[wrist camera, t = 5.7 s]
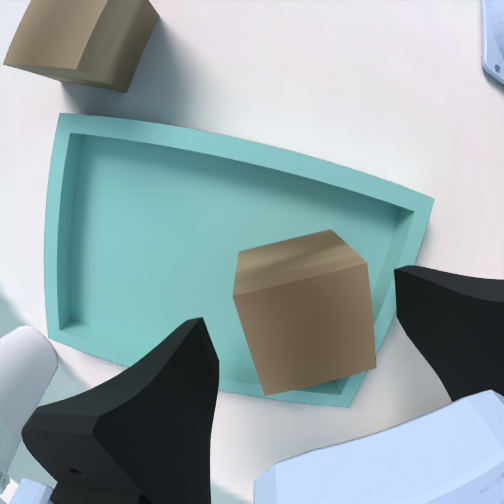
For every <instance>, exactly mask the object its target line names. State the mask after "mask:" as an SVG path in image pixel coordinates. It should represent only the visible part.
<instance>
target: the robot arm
mask: <svg viewBox="0 0 504 504" xmlns="http://www.w3.org/2000/svg"><path fill="white" fill-rule="evenodd" d="M481 11H482V65H483V68H484V69H485V71H486V72H487V73H489V74H490V75H491V76H493V77H494V78H495V79H497V80H498V81H499V82H501V83H502V84H503V85H504V0H481ZM495 68H496V70H497V71H496V70H495ZM394 280H395V294H396V312H397V318H398V320H399V322H400V324H401V325H402V327H403V329H404V331H405V332H406V334H407V336H408V337H409V338H410V340H411V341H412V342H413V344H414V345H415V346H416V348H417V349H418V350H419V351H420V353H421V354H422V355H423V356H424V358H425V359H426V360H427V362H428V363H429V364H430V366H431V367H432V368H433V370H434V371H435V372H436V374H437V375H438V377H439V378H440V380H441V381H442V383H443V385H444V387H445V389H446V390H447V392H448V394H449V396H450V398H451V400H452V403H450V404H448V405H446V406H444V407H441V408H439V409H437V410H435V411H432V412H430V413H428V414H425V415H423V416H420V417H418V418H415V419H413V420H410V421H407V422H405V423H402V424H399V425H397V426H394V427H391V428H388V429H385V430H382V431H379V432H376V433H373V434H370V435H367V436H364V437H360V438H357V439H353V440H350V441H346V442H343V443H339V444H335V445H331V446H327V447H323V448H319V449H314V450H311V451H308V452H305V453H303V454H300V455H297V456H294V457H291V458H288V459H285V460H282V461H279V462H278V463H276V464H275V465H273V466H272V467H271V468H270V469H269V470H267V471H266V472H265V473H263V474H262V475H261V476H260V477H258V478H257V479H256V480H254V504H504V280H498V279H484V278H475V277H469V276H463V275H458V274H453V273H448V272H443V271H439V270H434V269H430V268H425V267H420V266H413V265H407V266H403V267H400V268H396V269H394ZM218 387H219V359H218V356H217V354H216V351H215V348H214V346H213V343H212V340H211V338H210V335H209V332H208V330H207V327H206V324H205V321H204V319H203V317H199V318H194V319H189V320H186V321H185V322H183V323H182V324H181V325H180V326H178V327H177V328H176V329H175V330H174V331H173V332H172V333H171V334H169V335H168V336H167V337H166V338H165V339H164V340H163V341H162V342H161V343H159V344H158V345H157V346H156V347H155V348H154V349H152V350H151V351H150V352H149V353H148V354H146V355H145V356H144V357H143V358H141V359H140V360H139V361H138V362H136V363H135V364H133V365H132V366H131V367H129V368H128V369H126V370H125V371H123V372H122V373H120V374H118V375H117V376H115V377H113V378H111V379H110V380H108V381H106V382H104V383H102V384H100V385H98V386H97V387H94V388H92V389H90V390H88V391H86V392H83V393H81V394H78V395H76V396H73V397H70V398H67V399H65V400H61V401H58V402H54V403H51V404H47V405H43V406H40V407H38V408H36V409H35V411H34V412H33V413H32V415H31V416H30V418H29V419H28V421H27V422H26V423H25V425H24V426H23V428H22V431H21V435H22V439H23V442H24V444H25V446H26V447H27V449H28V450H29V452H30V453H31V454H32V456H33V457H34V458H35V459H36V460H37V461H38V462H39V463H40V464H41V466H42V467H43V468H44V469H45V470H46V471H47V472H48V473H49V474H50V475H51V476H52V477H53V478H54V479H55V480H56V481H57V482H58V483H57V485H56V487H55V489H53V488H52V487H50V486H48V485H46V484H44V483H41V482H37V481H34V480H31V479H27V478H23V479H22V481H21V483H20V484H19V486H18V488H17V490H16V492H15V494H14V496H13V497H12V499H11V501H10V503H9V504H211V490H210V440H211V430H212V424H213V418H214V412H215V406H216V400H217V394H218Z"/></svg>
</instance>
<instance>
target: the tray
mask: <svg viewBox="0 0 504 504" xmlns="http://www.w3.org/2000/svg"><path fill="white" fill-rule="evenodd" d="M433 203H434V198H432V197H429V196H427V195H424V194H422V193H419V192H416V191H414V190H411V189H409V188H406V187H403V186H401V185H398V184H395V183H392V182H390V181H387V180H384V179H381V178H378V177H375V176H372V175H369V174H366V173H363V172H360V171H357V170H354V169H351V168H348V167H345V166H342V165H338V164H335V163H332V162H329V161H325V160H322V159H318V158H315V157H311V156H308V155H304V154H301V153H297V152H293V151H289V150H286V149H282V148H278V147H274V146H270V145H266V144H262V143H258V142H253V141H249V140H245V139H240V138H236V137H231V136H226V135H221V134H216V133H211V132H206V131H201V130H196V129H190V128H184V127H179V126H173V125H166V124H160V123H153V122H146V121H139V120H131V119H123V118H114V117H105V116H94V115H82V114H69V113H60V114H59V118H58V123H57V128H56V133H55V139H54V145H53V151H52V157H51V164H50V171H49V179H48V189H47V199H46V212H45V230H44V288H45V306H46V319H47V330H48V338H49V339H52V340H54V341H57V342H59V343H62V344H64V345H67V346H69V347H72V348H74V349H77V350H80V351H82V352H85V353H88V354H91V355H94V356H96V357H99V358H102V359H105V360H108V361H111V362H114V363H117V364H121V365H124V366H127V367H131V366H132V365H133V364H135V363H136V362H138V361H139V360H140V359H141V358H143V357H144V356H145V355H146V354H148V353H149V352H150V351H151V350H152V349H154V348H155V347H156V346H157V345H158V344H159V343H161V342H162V341H163V340H164V339H165V338H166V337H167V336H168V335H169V334H171V333H172V332H173V331H174V330H175V329H176V328H177V327H178V326H180V325H181V324H182V323H183V322H185V321H186V320H189V319H194V318H199V317H203V319H204V321H205V324H206V327H207V330H208V332H209V335H210V338H211V340H212V343H213V346H214V348H215V351H216V354H217V356H218V359H219V387H218V390H222V391H227V392H232V393H238V394H243V395H249V396H255V397H261V398H268V399H274V400H282V401H289V402H297V403H306V404H316V405H327V406H339V407H349V405H350V403H351V401H352V400H353V398H354V396H355V394H356V392H357V391H358V389H359V387H360V385H361V383H362V381H363V379H364V378H365V376H366V374H367V372H368V370H367V371H364V372H361V373H358V374H354V375H351V376H347V377H344V378H340V379H336V380H333V381H329V382H325V383H321V384H317V385H313V386H309V387H305V388H301V389H296V390H292V391H287V392H282V393H278V394H273V395H267V396H264V393H263V390H262V387H261V384H260V381H259V378H258V375H257V372H256V369H255V366H254V363H253V360H252V356H251V353H250V350H249V347H248V344H247V341H246V338H245V335H244V332H243V328H242V325H241V322H240V319H239V316H238V313H237V309H236V306H235V303H234V300H233V296H232V295H233V288H234V281H235V274H236V267H237V260H238V253H239V251H243V250H247V249H251V248H255V247H259V246H263V245H267V244H271V243H275V242H279V241H283V240H287V239H291V238H295V237H299V236H304V235H308V234H312V233H316V232H320V231H324V230H328V229H332V230H333V231H334V232H335V233H336V234H337V235H338V236H339V237H340V238H341V239H343V240H344V241H345V242H346V243H347V244H348V245H349V246H350V247H351V248H352V249H353V250H354V251H355V252H357V253H358V254H359V255H360V256H361V257H362V258H363V259H364V260H365V261H366V262H367V266H368V274H369V282H370V291H371V301H372V312H373V323H374V337H375V354H377V352H378V350H379V348H380V345H381V343H382V341H383V339H384V337H385V335H386V332H387V330H388V328H389V326H390V324H391V321H392V319H393V317H394V314H395V312H396V294H395V280H394V269H396V268H400V267H403V266H407V265H413V266H414V263H415V260H416V257H417V255H418V252H419V249H420V246H421V243H422V240H423V237H424V233H425V230H426V227H427V224H428V220H429V217H430V214H431V210H432V206H433Z"/></svg>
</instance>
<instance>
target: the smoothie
mask: <svg viewBox="0 0 504 504" xmlns="http://www.w3.org/2000/svg"><path fill="white" fill-rule="evenodd" d="M57 368H58V359H57V355H56V353H55V350H54V349H53V347H52V345H51V344H50V342H49V341H48V340H47V339H46V338H45V336H44V335H42V334H41V333H40V332H39V331H37V330H36V329H34V328H32V327H30V326H20V327H18V328H17V329H15V330H13V331H12V332H10V333H9V334H7V335H5V336H4V337H2V338H0V494H2V493H3V491H4V490H5V488H6V486H7V484H9V483H10V479H9V476H8V474H7V472H8V469H9V467H10V465H11V462H12V460H13V458H14V456H15V453H16V451H17V448H18V446H19V444H20V442H21V439H22V435H21V431H22V428H23V426H24V425H25V423H26V422H27V421H28V419H29V418H30V416H31V415H32V413H33V412H34V411H35V409H36V408H37V406H38V404H39V402H40V400H41V398H42V396H43V394H44V392H45V390H46V389H47V387H48V385H49V383H50V381H51V379H52V377H53V376H54V374H55V372H56V370H57Z"/></svg>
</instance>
